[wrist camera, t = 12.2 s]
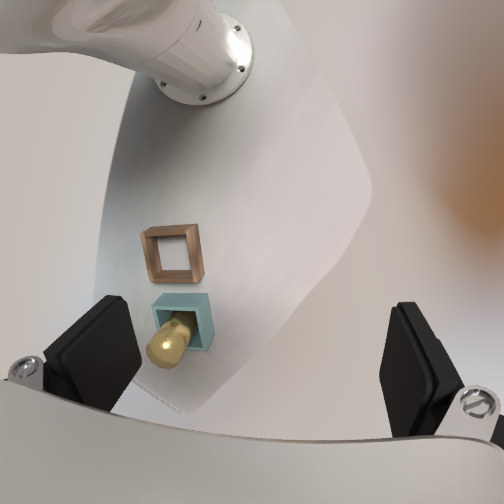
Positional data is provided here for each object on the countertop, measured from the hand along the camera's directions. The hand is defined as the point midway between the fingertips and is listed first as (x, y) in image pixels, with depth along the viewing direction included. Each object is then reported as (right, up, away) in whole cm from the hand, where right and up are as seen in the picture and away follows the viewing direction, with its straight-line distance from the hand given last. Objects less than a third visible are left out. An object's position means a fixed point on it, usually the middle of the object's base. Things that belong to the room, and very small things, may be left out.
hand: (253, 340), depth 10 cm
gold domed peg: (-9, -6, +33) cm, 35 cm away
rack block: (-9, -6, +33) cm, 35 cm away
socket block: (-10, +3, +30) cm, 32 cm away
